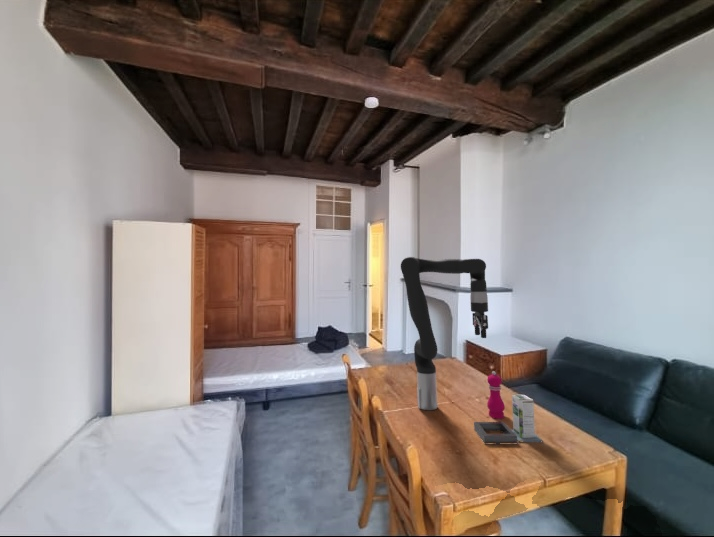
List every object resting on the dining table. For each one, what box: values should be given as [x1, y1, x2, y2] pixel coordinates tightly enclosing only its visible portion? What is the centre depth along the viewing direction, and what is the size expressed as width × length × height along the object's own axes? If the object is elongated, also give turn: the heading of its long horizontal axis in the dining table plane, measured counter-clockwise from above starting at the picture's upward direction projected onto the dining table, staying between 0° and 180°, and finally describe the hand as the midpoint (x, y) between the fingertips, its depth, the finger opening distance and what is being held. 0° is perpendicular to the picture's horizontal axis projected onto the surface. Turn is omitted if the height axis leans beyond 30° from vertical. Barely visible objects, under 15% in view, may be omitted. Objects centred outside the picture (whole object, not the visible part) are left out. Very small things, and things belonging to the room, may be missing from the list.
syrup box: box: [511, 394, 536, 438], centre depth 120 cm, size 6×6×14 cm
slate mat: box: [511, 429, 544, 443], centre depth 119 cm, size 9×9×1 cm
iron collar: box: [473, 421, 518, 445], centre depth 120 cm, size 12×12×3 cm
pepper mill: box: [486, 370, 506, 420], centre depth 139 cm, size 7×7×20 cm
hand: (480, 336), depth 142 cm, fingers open, 8 cm apart
